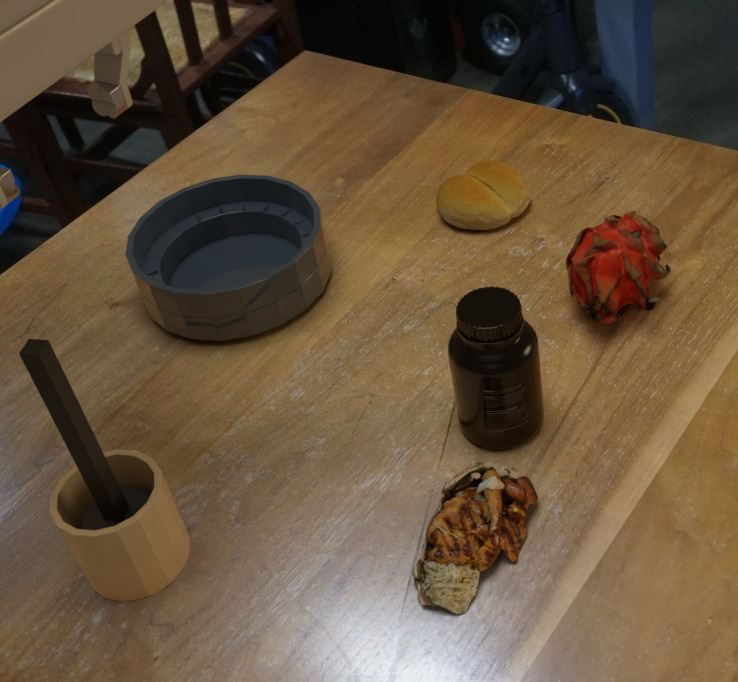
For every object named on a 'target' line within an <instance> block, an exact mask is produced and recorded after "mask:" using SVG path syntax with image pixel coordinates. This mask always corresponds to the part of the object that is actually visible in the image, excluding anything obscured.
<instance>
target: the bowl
mask: <svg viewBox="0 0 738 682" xmlns="http://www.w3.org/2000/svg"><path fill="white" fill-rule="evenodd" d="M125 258H126V261H127V263H128V265H129V268H130V270H131V273H132V276H133V278H134V281H135V283H136V286H137V289H138V291H139V294H140V295H141V296H140V297H141V299H142V302H143V304H144V306H145V309H146V311H147V313H148V315H149V317H150V319H152V320H153V321H154V322H155V323H156V324H158V325H159V326H160V327H161V328H163V330H165V331H166V332H169V333H172V334H175V335H177V336H180V337H184V338H186V339H188V340H189V339H190V340H196V341H197V340H198V341H216V342H225V341H229V340H230V341H231V340H237V339H243V338H249V337H250V338H251V337H254V336H256V335H259V334H262V333H265V332H267V331H270V330H273V329H275V328H278V327H281V326H282V325H284V324H285V323H287V322H288V321H290V320H292V319H293V318H295V317H296V316H298V315H299V314H301V313H303V312H305V311H306V310H307V309H308V308H309V307H310V306H311V305H312V303H313V302H314V301H315V300H316V299H318V297H319V296H320V295H321V294H322V293H323V292H324V290H325V288H326V286H327V282H328V280H329V278H330V275H331V273H332V263H331V251H330V247H329V242H328V239H327V233H326V230H325V225H324V221H323V217H322V212H321V208H320V206H319V204H318V203H317V202H316V200H315V198H314V197H313V196H312V194H311V193H310V192H309V191H308V190H306V189H304V188H303V187H301V186H299V185H298V184H296V183H294V182H293V181H291V180H287V179H283V178H279V177H275V176H271V175H265V174H264V175H263V174H261V175H260V174H233V175H227V176H221V177H214V178H209V179H206V180H204V181H201V182H198V183H195V184H191V185H189V186H185V187H182V188H181V189H179V190H177V191H174V192H173V193H171V194H169V195H168V196H166V197H164V198H162V199H160V200H159V201H157V202H156V203H155V204H154V205H153V206H151V207H150V209H148V210H147V211H146V212H145V213H144V214H142V215H141V216H140V217H139V219H137V221H136V223H135V225H134V226H133V228H132V229H131V231H130V233H128V236H127V240H126V249H125Z"/></svg>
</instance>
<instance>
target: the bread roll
mask: <svg viewBox="0 0 738 682" xmlns="http://www.w3.org/2000/svg"><path fill="white" fill-rule="evenodd" d="M531 200H532V197H531V192H530V190H529V186H528V185H527V183H526V181H525V179H524V177H523V175H521V173H520V172H519V171H518V170H516V169H515V168H514V167H513V166H511V165H510V164H508V163H506V162H504V161H500V160H482V161H479V162H476V163H475V164H473V165H472V166H470V167H469V168H468V169H467V171H465V173H464V174H457V175H453V176H450V177H448V178H446V179H444V181H443V182H442V183H441V184H440V185H439V187H438V190H437V193H436V201H435V202H436V206H437V210H438V212H439V215H440V216H441V218H442V219H443V220H444V221H445V222H446V223H447V224H448V225H451V226H453V227H456V228H458V229H461V230H471V231H490V230H495V229H498V228H500V227H502V226H505V225H506V224H508V223H509V222H510V221H511V220H512V219H513V218H517V217H519V216H520V215H521V214H523V213H524V211H525V210H527V208H528V206H529V204H530V203H531Z"/></svg>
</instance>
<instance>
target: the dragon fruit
mask: <svg viewBox="0 0 738 682" xmlns="http://www.w3.org/2000/svg"><path fill="white" fill-rule="evenodd" d="M636 212H637V211H635V210H634V211H627V212H626V213H624V214H623V215H622V216H621V215H617V214H611V215H609V216H608V215H607V216H605V217H604V219H603V222H602V223H600V224H597V225H596V226H594V227H589V226H587V227H585V228H583V229H581V230H580V231H579V232H578V233H577V235H576V238H575V241H574V243H573V246H572V247H571V249H570V251H569V253H568V254H567V255H566V259H565V269H566V271H567V277H568V278H567V279H568V288H569V294H570V296H571V298H574V297H575V299H576V301H577V302H578V303H579V304H580V306H581V307H582V308H583V309H584V310H585V311H587V312H588V313H589V320H591V321H592V322H594V323H596V319H598V322H599V323H600V324H602V325H606V324H607V325H608V324H611V323H613V322H618V321H620V319H622V317H623V316H624V314H625V311H622V312H619V310H621V309H622V308H623V307H625V306H628V304H632V305H634V306H635V307H637V310H639V311H649V312H650V311H653V310H654V309H656V307H657V306H658V305H659V304H660V303H661V301H662V298H661V297H657V296H656V297H651V291H650V281H651V280H655V281H661V280H665V279H666V278H667V277H668V276H670V274H671V272H672V268H671V266H670V265H669V264H665V268H664V267H663V266H662V265H661V263H660V261H661V256H660V255H662V254H663V253H664V252H665V251H666V250H667V247H668V244H666V241H665V240H664V239H663V238H662V237H661V236H660V233H661V232H660V229H659V228H658V227H657V226H656V225H654V224H653V223H652V222H651V221H648V218H646V217H645V216H643V215H638V214H637V213H636Z"/></svg>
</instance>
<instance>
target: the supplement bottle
mask: <svg viewBox="0 0 738 682" xmlns="http://www.w3.org/2000/svg"><path fill="white" fill-rule="evenodd" d="M455 315H456V317H455V319H456V325H455V326H456V327H455V328H454V329H453V331H452V333H451V335H450V336H449V339H448V342H447V356H448V362H449V369H450V375H451V381H452V389H453V394H454V402H455V407H456V414H457V420H458V423H459V427H460V429H461V432H462V433H463V434H464V435H465V437H466V438H467V439H468V440H470V441H471V442H472V443H474V444H475V445H478V446H480V447H483V448H487V449H492V450H504V449H505V450H507V449H511V448H514V447H518V446H520V445H523V444H525V443H526V442H528V441H529V440H530V439H532V438H533V437H534V436H535V435H536V434H537V432H539V430H540V428H541V426H542V423H543V421H544V397H543V385H542V372H541V360H540V358H541V357H540V348H539V347H540V346H539V339H538V335H537V332H536V330H535V329H534V328H533V326H532V325H531V323H529V321H527V320H526V319H525V318H524V315H523V308H522V303H521V300H520V298H519V297H518V295H516V294H515V292H513V291H511V290H510V289H506V288H505V287H500V286H484V287H478V288H475V289H473V290H472V291H469V292H467V293H466V294H464V295H463V296H462V297H461V298H459V301H458V302H457V305H456V307H455Z"/></svg>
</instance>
